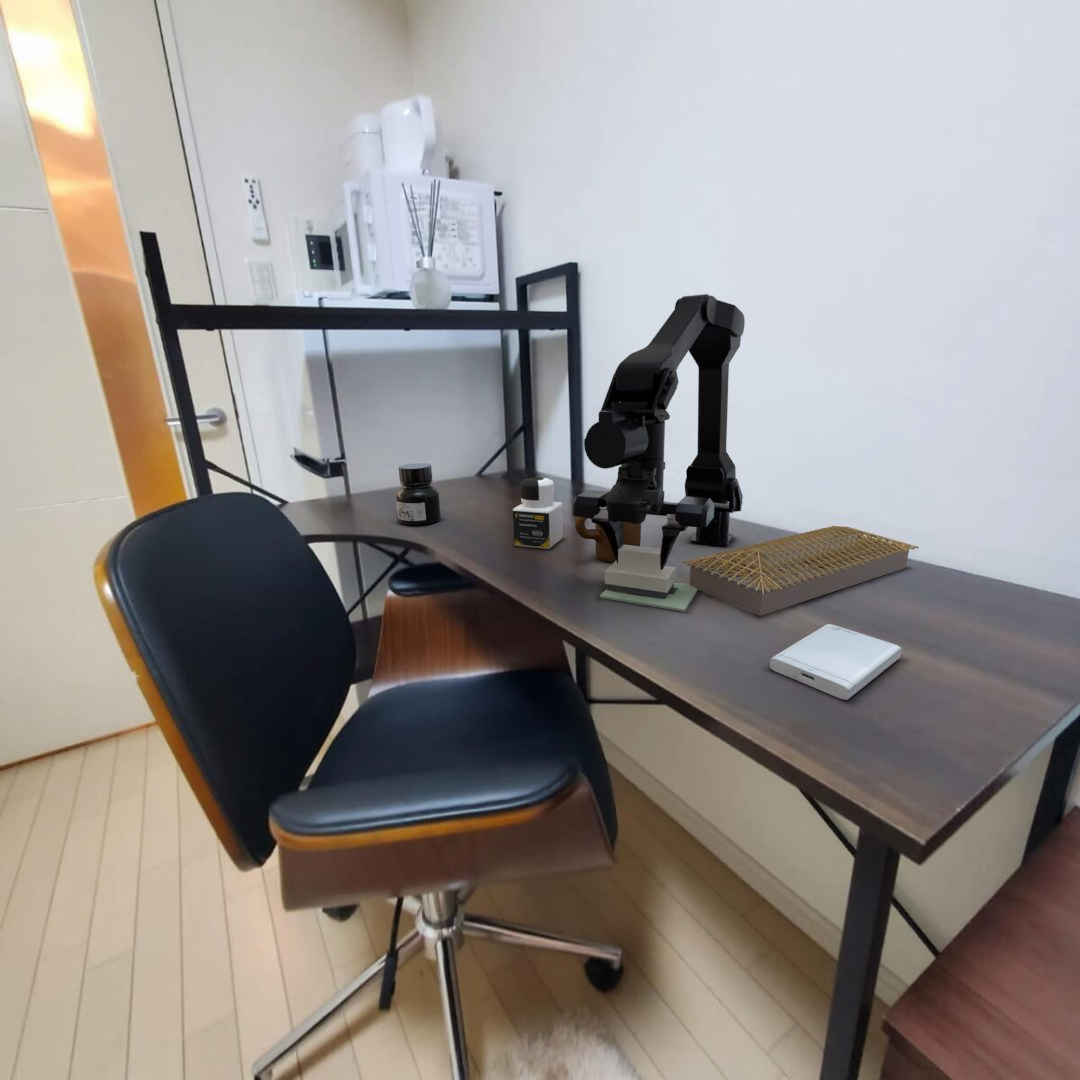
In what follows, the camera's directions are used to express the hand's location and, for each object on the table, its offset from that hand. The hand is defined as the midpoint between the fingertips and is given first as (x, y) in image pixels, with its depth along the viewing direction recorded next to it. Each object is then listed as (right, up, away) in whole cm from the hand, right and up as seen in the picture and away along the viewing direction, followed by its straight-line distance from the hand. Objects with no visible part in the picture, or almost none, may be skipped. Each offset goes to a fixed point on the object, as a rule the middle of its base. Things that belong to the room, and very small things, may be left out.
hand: (640, 566), depth 82 cm
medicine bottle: (-15, +3, +25) cm, 29 cm away
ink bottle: (-40, +8, +42) cm, 59 cm away
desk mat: (+2, -4, +1) cm, 4 cm away
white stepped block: (0, -3, +1) cm, 3 cm away
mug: (-3, 0, +15) cm, 16 cm away
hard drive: (+18, -10, -20) cm, 28 cm away
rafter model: (+25, -2, +5) cm, 25 cm away
